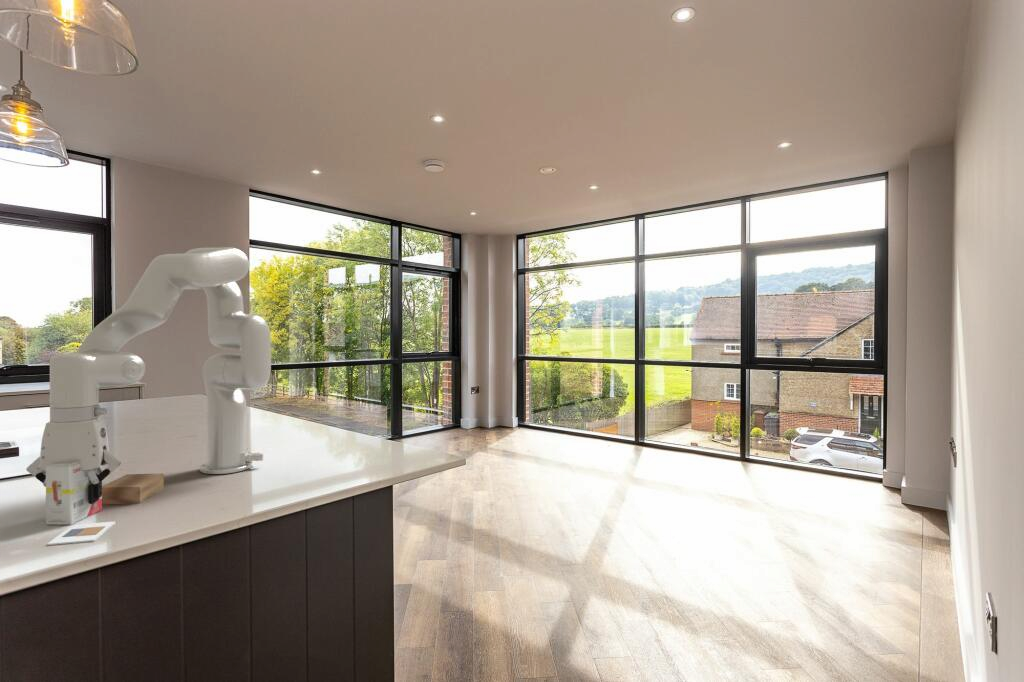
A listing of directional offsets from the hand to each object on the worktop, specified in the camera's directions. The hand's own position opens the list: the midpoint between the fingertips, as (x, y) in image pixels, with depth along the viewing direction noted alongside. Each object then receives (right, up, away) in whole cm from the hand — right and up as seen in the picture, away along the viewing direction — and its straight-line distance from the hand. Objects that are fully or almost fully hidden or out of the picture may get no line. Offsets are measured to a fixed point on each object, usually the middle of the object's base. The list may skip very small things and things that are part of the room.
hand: (74, 502), depth 104 cm
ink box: (0, -3, 0) cm, 3 cm away
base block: (+2, -3, +13) cm, 14 cm away
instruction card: (+8, -3, -8) cm, 12 cm away
